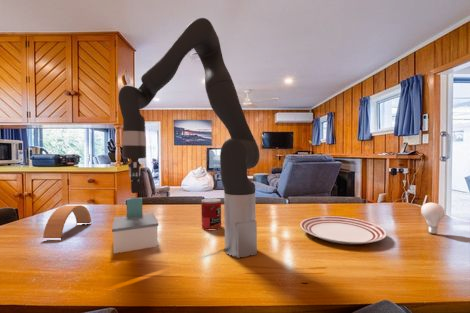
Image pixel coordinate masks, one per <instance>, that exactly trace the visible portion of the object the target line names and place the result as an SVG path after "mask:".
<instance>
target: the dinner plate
mask: <svg viewBox="0 0 470 313" xmlns="http://www.w3.org/2000/svg"><path fill="white" fill-rule="evenodd" d="M299 225H300V227H301V229H302V230H303V231H304V232H306V233H307V234H310V235H311V236H313V237H316V238H317V239H318V238H319V239H321V240H322V241H323V240H324V241H327V242H330V243H335V244H341V245H362V244H363V245H364V244H370V243H376V242H379V241H382V240H384V239H385V238H386V237H387V235H388V234H387V231H386V229H384V228H382V227H381V226H379V225H378V224H375V223H374V222H373V223H372V222H370V221H366V220H362V219H357V218H353V217H347V216H333V215H332V216H330V215H325V216H324V215H321V216H314V217H308V218H306V219H303V220H302V221H300V224H299Z"/></svg>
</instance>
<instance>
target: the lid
mask: <svg viewBox="0 0 470 313" xmlns="http://www.w3.org/2000/svg"><path fill="white" fill-rule="evenodd" d="M155 226H157V227H159V222H158V220H157V218H156V215H155V214H154V212H152V213H144V214H143V197H132V198H126V216H117V217H116V216H115V217H114V218H113V223H112V227H111V232H112V233H113V232H116V231H124V230H132V229H139V228H147V227H155Z"/></svg>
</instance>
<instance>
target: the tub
mask: <svg viewBox="0 0 470 313" xmlns="http://www.w3.org/2000/svg"><path fill="white" fill-rule="evenodd" d="M112 235H113V237H112V238H113V239H112V240H113V254H118V253H119V252H120V253H123V252H131V251H137V250H142V249H143V250H144V249H149V248H154V247H158V226H155V227H147V228H139V229H132V230H124V231H116V232H112Z"/></svg>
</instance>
